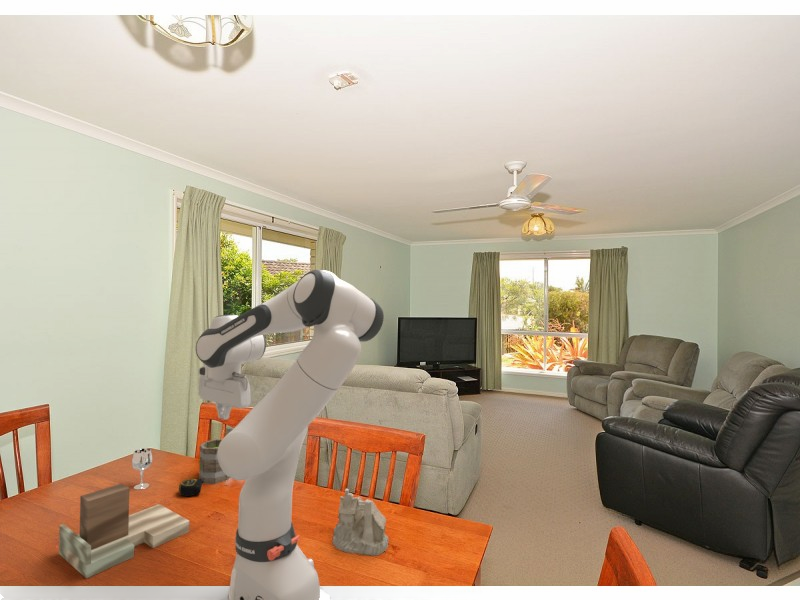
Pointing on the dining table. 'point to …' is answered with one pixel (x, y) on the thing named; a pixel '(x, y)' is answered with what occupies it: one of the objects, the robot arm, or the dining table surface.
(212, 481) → the mug
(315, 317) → the robot arm
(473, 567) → the dining table surface
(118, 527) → the walnut block
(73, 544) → the cream block stand
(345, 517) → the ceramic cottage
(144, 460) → the wineglass
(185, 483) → the tape measure
